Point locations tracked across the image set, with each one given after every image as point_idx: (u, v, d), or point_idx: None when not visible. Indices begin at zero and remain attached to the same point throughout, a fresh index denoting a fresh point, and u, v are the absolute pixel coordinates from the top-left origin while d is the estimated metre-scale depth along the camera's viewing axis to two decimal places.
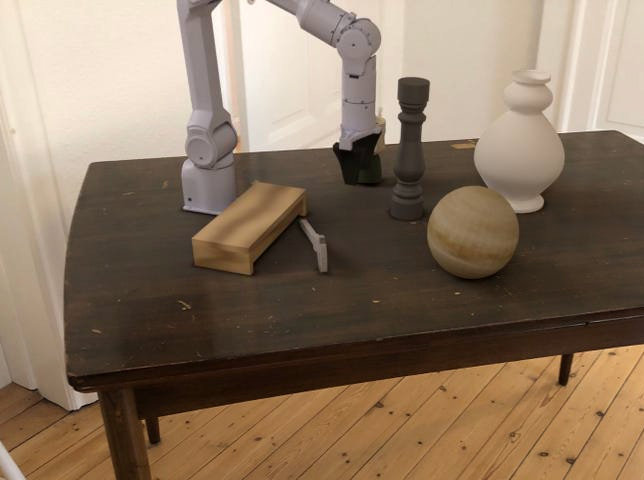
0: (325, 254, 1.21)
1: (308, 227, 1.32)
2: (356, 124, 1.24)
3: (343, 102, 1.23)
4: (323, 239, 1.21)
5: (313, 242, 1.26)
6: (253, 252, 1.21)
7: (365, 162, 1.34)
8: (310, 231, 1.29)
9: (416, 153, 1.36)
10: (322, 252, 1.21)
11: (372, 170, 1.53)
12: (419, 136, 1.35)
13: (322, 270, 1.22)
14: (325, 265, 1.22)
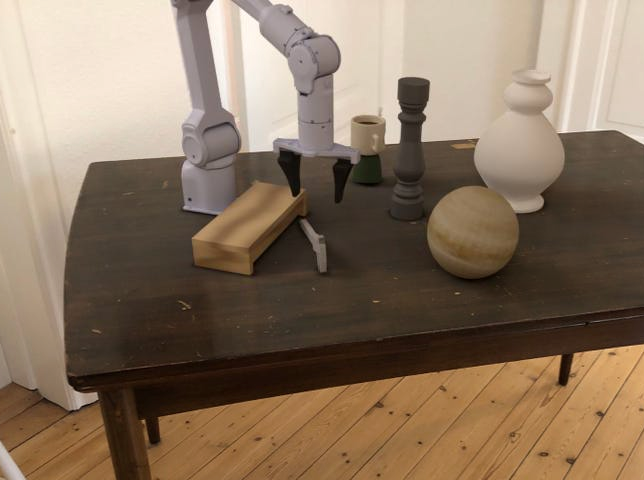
0: (324, 254, 1.21)
1: (308, 227, 1.32)
2: None
3: None
4: (322, 239, 1.21)
5: (313, 242, 1.26)
6: (253, 252, 1.21)
7: None
8: (310, 231, 1.29)
9: (416, 153, 1.36)
10: (321, 252, 1.21)
11: (372, 170, 1.53)
12: (419, 136, 1.35)
13: (321, 270, 1.22)
14: (324, 265, 1.22)
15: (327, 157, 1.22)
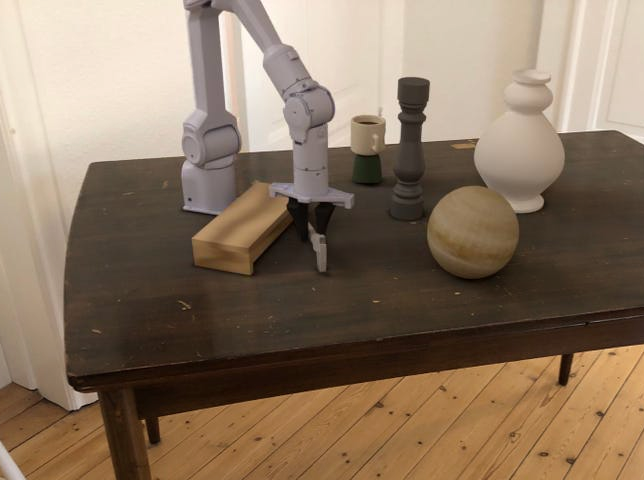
0: (325, 254, 1.21)
1: (309, 227, 1.32)
2: None
3: None
4: (323, 239, 1.21)
5: (313, 242, 1.26)
6: (253, 252, 1.21)
7: None
8: (310, 231, 1.29)
9: (416, 153, 1.36)
10: (322, 252, 1.21)
11: (372, 170, 1.53)
12: (419, 136, 1.35)
13: (321, 270, 1.22)
14: (324, 265, 1.22)
15: (322, 202, 1.25)
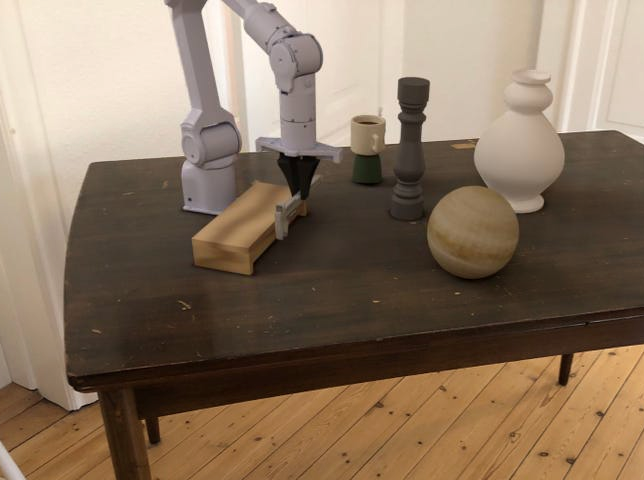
0: (278, 223, 1.18)
1: None
2: None
3: None
4: (279, 207, 1.17)
5: None
6: (253, 252, 1.21)
7: None
8: (299, 192, 1.26)
9: (416, 153, 1.36)
10: (276, 220, 1.18)
11: (372, 170, 1.53)
12: (419, 136, 1.35)
13: (277, 237, 1.20)
14: (279, 233, 1.19)
15: None
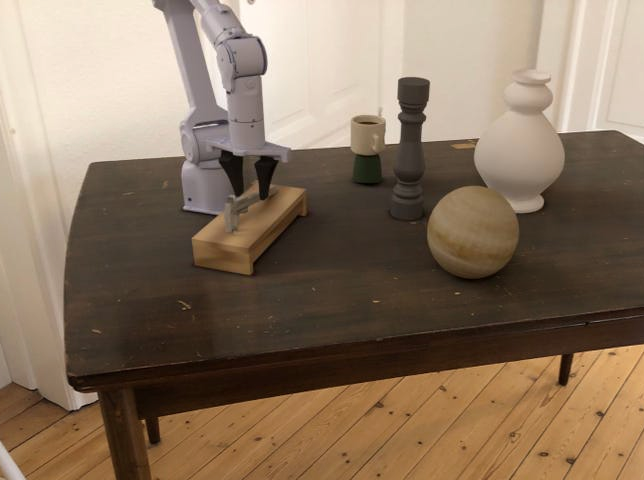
0: (228, 214, 1.20)
1: None
2: None
3: None
4: (230, 199, 1.20)
5: None
6: (253, 252, 1.21)
7: None
8: (252, 194, 1.29)
9: (416, 153, 1.36)
10: (226, 211, 1.20)
11: (372, 170, 1.53)
12: (419, 136, 1.35)
13: (226, 230, 1.22)
14: (229, 225, 1.21)
15: (259, 156, 1.23)
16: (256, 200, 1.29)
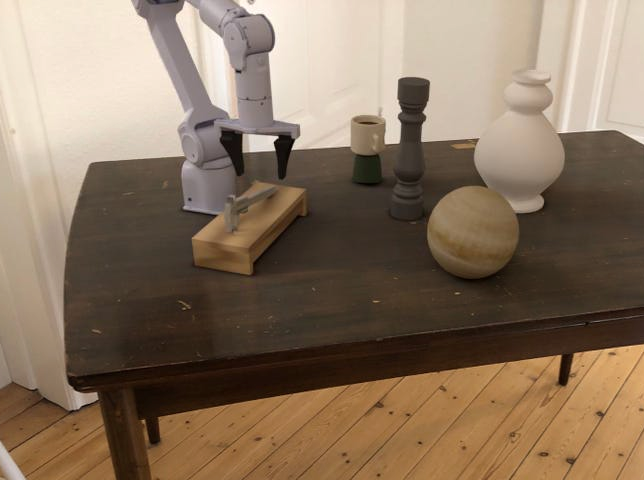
0: (228, 214, 1.20)
1: (259, 191, 1.31)
2: None
3: None
4: (230, 199, 1.20)
5: None
6: (253, 252, 1.21)
7: None
8: (252, 194, 1.29)
9: (416, 153, 1.36)
10: (226, 211, 1.20)
11: (372, 170, 1.53)
12: (419, 136, 1.35)
13: (226, 230, 1.22)
14: (229, 225, 1.21)
15: (268, 134, 1.25)
16: (256, 200, 1.29)
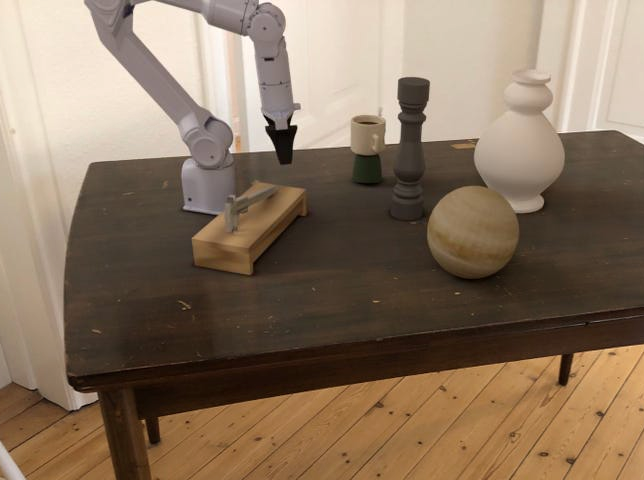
0: (228, 214, 1.20)
1: (259, 191, 1.31)
2: (281, 104, 1.29)
3: (263, 86, 1.28)
4: (230, 199, 1.20)
5: None
6: (253, 252, 1.21)
7: None
8: (252, 194, 1.29)
9: (416, 153, 1.36)
10: (226, 211, 1.20)
11: (372, 170, 1.53)
12: (419, 136, 1.35)
13: (226, 230, 1.22)
14: (229, 225, 1.21)
15: None
16: (256, 200, 1.29)
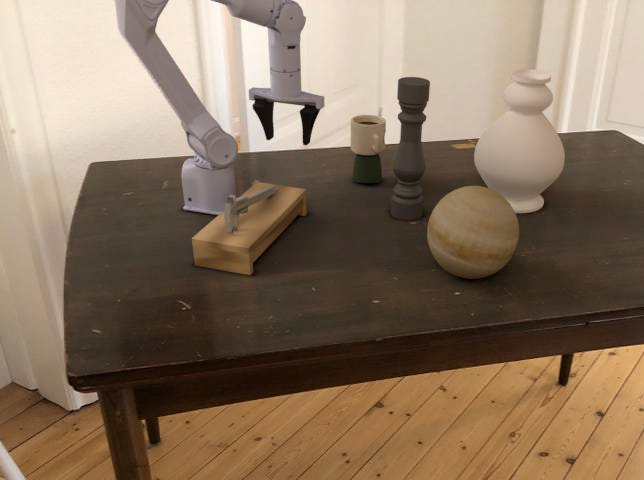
0: (228, 214, 1.20)
1: (259, 191, 1.31)
2: (300, 88, 1.39)
3: (291, 73, 1.35)
4: (230, 199, 1.20)
5: None
6: (253, 252, 1.21)
7: (271, 131, 1.45)
8: (252, 194, 1.29)
9: (416, 153, 1.36)
10: (226, 211, 1.20)
11: (372, 170, 1.53)
12: (419, 136, 1.35)
13: (226, 230, 1.22)
14: (229, 225, 1.21)
15: None
16: (256, 200, 1.29)
